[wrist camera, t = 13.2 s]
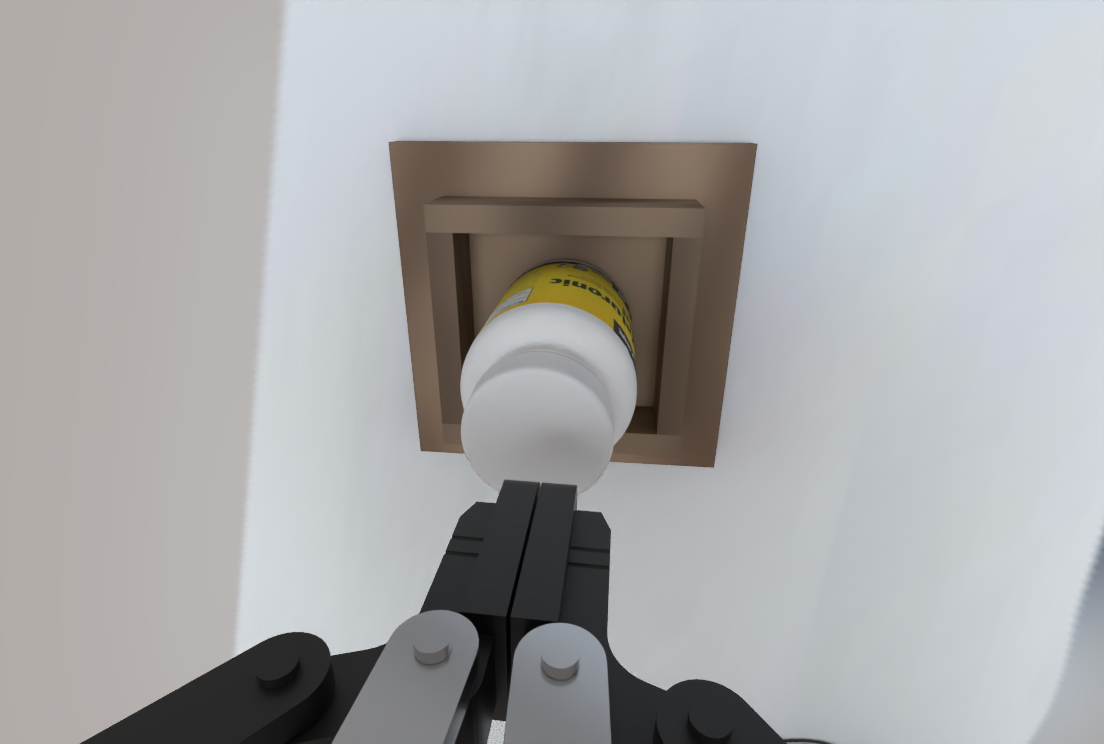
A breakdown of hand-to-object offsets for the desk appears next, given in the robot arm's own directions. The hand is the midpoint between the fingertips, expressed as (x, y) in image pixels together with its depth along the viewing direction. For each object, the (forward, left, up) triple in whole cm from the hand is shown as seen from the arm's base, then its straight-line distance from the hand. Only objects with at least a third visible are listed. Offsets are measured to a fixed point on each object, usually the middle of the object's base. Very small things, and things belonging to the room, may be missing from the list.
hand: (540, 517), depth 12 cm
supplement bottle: (+1, 0, -14) cm, 14 cm away
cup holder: (+1, 0, -15) cm, 15 cm away
